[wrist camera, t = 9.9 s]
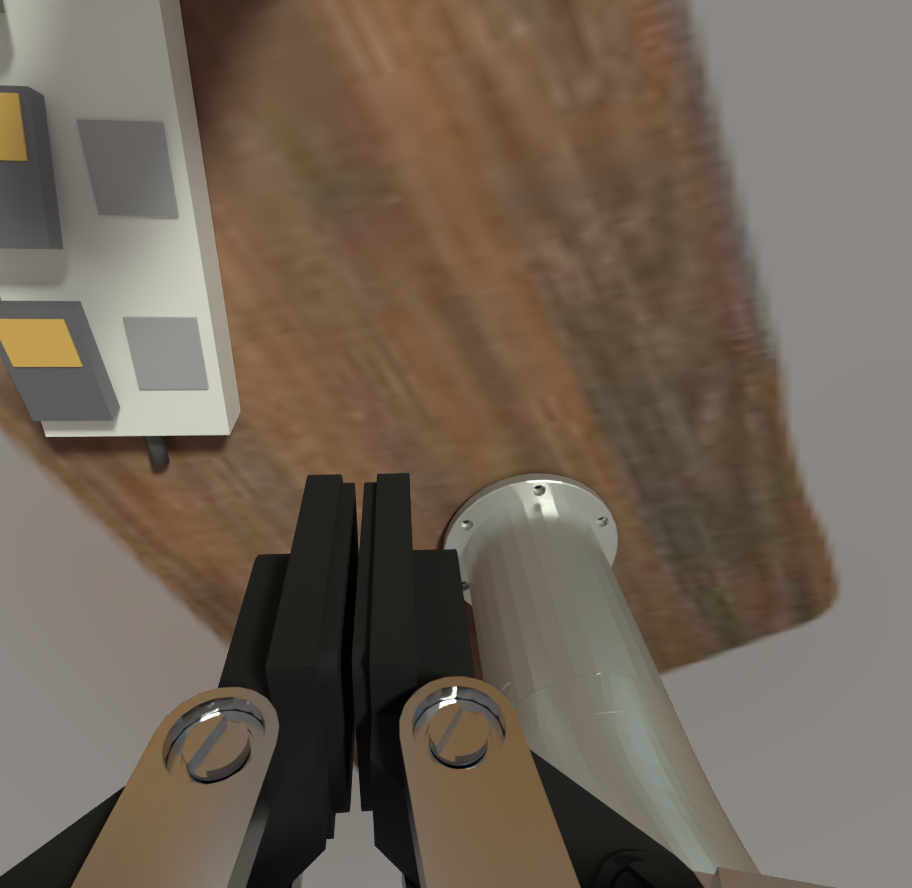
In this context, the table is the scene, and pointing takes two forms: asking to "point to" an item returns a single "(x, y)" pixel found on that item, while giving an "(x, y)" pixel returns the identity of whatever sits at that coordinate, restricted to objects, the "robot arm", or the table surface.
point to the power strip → (126, 211)
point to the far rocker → (55, 361)
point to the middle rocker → (26, 173)
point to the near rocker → (1, 7)
